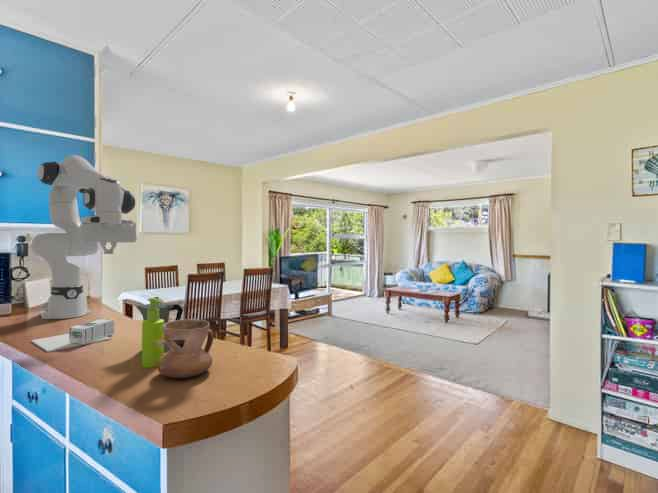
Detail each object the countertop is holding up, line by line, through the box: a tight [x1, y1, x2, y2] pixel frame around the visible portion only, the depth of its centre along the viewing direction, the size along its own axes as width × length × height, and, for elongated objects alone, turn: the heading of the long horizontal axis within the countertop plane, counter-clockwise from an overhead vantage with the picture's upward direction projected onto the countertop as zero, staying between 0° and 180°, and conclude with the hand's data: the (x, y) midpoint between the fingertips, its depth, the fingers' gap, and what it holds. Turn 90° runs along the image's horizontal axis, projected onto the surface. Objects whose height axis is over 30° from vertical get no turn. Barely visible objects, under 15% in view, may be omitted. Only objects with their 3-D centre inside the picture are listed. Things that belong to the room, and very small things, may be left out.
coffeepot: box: [135, 296, 184, 353], centre depth 118 cm, size 15×9×18 cm, turn 92°
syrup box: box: [68, 317, 115, 345], centre depth 128 cm, size 6×6×14 cm
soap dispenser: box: [141, 297, 165, 369], centre depth 105 cm, size 6×7×20 cm
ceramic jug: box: [156, 318, 215, 379], centre depth 99 cm, size 18×14×14 cm
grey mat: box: [30, 333, 112, 353], centre depth 127 cm, size 18×19×1 cm
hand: (108, 253), depth 140 cm, fingers closed
